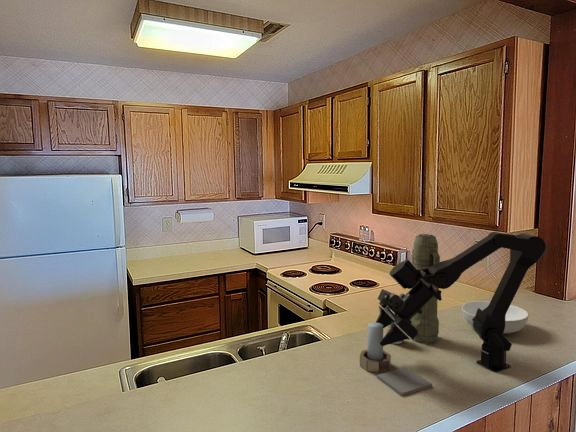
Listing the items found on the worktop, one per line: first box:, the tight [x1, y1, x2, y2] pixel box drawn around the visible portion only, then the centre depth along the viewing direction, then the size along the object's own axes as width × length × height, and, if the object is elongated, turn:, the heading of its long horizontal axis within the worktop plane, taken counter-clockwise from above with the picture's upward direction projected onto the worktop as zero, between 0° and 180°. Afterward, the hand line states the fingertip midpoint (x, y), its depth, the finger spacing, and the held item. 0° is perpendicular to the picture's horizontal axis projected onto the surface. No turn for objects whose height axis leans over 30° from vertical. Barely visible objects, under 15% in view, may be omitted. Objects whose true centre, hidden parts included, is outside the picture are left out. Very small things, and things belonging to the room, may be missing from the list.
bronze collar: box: [359, 349, 392, 374], centre depth 114 cm, size 8×8×3 cm
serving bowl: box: [461, 300, 529, 335], centre depth 139 cm, size 21×21×7 cm
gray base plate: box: [376, 366, 433, 397], centre depth 104 cm, size 10×10×1 cm
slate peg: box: [367, 322, 384, 361], centre depth 113 cm, size 4×4×12 cm
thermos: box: [411, 233, 441, 345], centre depth 130 cm, size 9×12×35 cm
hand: (376, 338), depth 113 cm, fingers open, 9 cm apart
